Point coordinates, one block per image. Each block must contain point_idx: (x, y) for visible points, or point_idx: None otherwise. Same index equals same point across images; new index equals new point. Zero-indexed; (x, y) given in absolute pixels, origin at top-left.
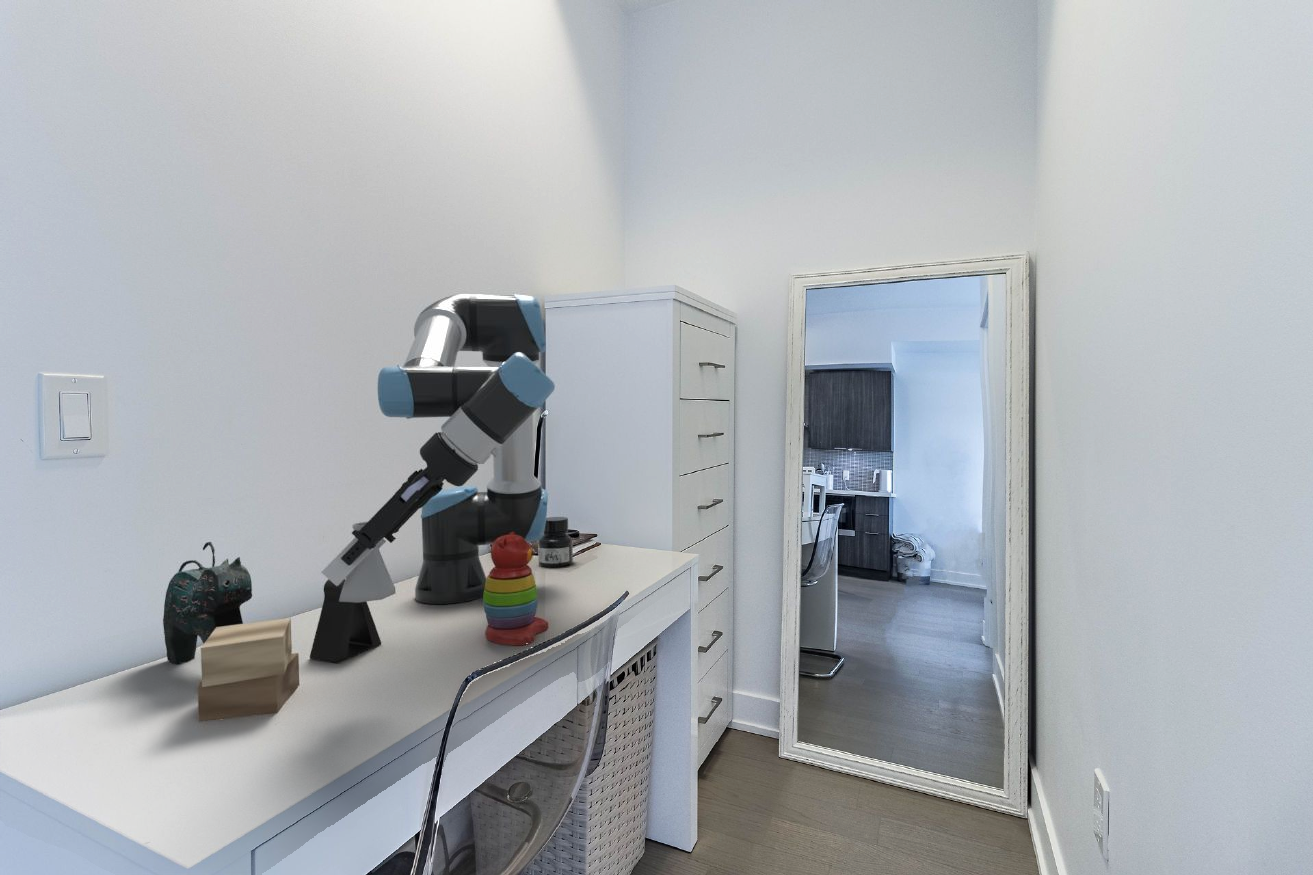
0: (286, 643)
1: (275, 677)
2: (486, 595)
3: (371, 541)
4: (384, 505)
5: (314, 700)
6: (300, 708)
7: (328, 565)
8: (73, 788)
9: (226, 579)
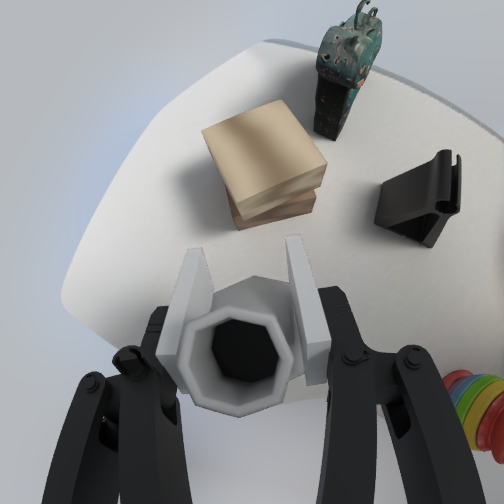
0: (272, 196)
1: (233, 217)
2: (472, 394)
3: (104, 419)
4: (44, 501)
5: (269, 254)
6: (249, 249)
7: (183, 264)
8: (131, 162)
9: (327, 52)
